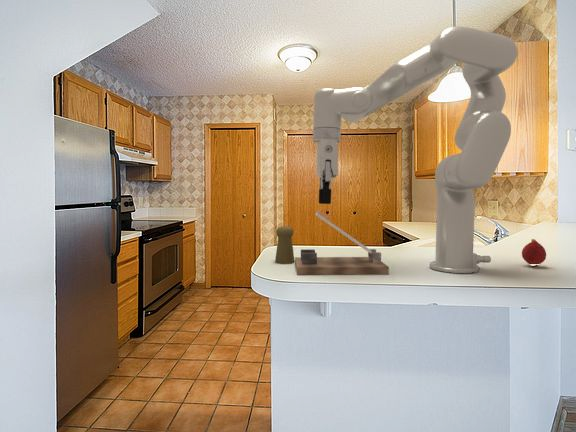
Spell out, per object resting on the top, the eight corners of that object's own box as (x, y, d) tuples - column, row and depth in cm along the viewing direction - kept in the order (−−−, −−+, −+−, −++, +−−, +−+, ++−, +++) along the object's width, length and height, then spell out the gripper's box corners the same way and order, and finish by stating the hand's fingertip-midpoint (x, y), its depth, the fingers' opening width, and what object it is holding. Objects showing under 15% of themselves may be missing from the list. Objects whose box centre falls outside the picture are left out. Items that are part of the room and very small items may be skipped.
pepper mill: (292, 264, 109) (292, 227, 108) (272, 263, 110) (272, 227, 109) (296, 260, 115) (296, 225, 114) (277, 259, 116) (277, 225, 115)
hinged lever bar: (373, 255, 105) (377, 250, 104) (376, 258, 101) (380, 252, 101) (314, 214, 103) (318, 209, 103) (315, 215, 100) (319, 210, 100)
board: (374, 263, 110) (375, 246, 110) (388, 274, 96) (389, 255, 96) (295, 264, 110) (295, 247, 109) (297, 275, 96) (297, 256, 95)
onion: (545, 266, 106) (546, 238, 105) (546, 269, 101) (547, 241, 100) (521, 263, 109) (522, 237, 108) (521, 267, 104) (522, 239, 104)
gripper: (345, 132, 93) (342, 205, 94) (336, 140, 108) (334, 202, 109) (315, 131, 93) (313, 204, 94) (310, 139, 107) (309, 202, 109)
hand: (324, 203), depth 101 cm, fingers closed
